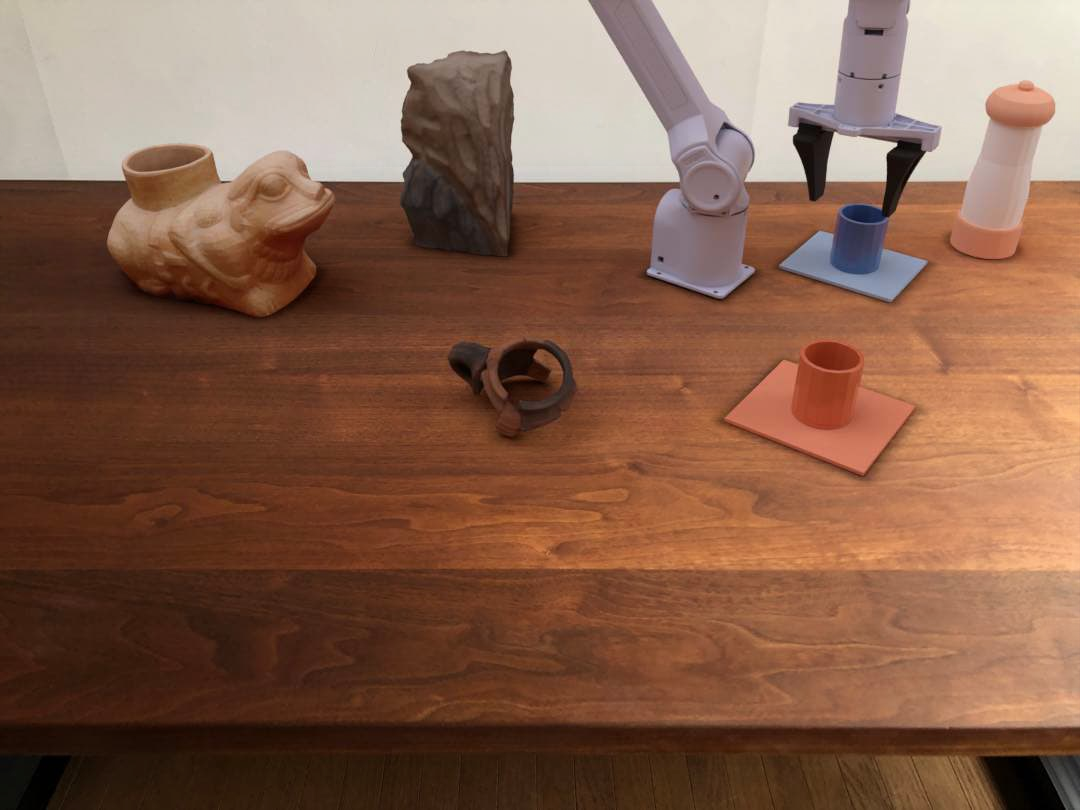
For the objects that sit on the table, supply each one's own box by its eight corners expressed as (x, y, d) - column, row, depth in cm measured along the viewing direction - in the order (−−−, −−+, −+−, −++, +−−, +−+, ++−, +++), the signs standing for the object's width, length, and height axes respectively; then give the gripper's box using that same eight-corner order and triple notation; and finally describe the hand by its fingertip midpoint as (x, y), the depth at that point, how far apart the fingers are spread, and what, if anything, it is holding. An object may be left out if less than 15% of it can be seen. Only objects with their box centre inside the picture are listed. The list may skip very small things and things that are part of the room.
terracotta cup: (780, 415, 94) (789, 359, 91) (806, 388, 98) (816, 332, 94) (837, 437, 91) (849, 379, 88) (861, 408, 95) (874, 352, 92)
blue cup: (826, 269, 117) (835, 219, 113) (833, 248, 121) (842, 200, 117) (876, 278, 115) (886, 227, 112) (881, 256, 119) (892, 207, 116)
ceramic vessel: (306, 332, 106) (286, 193, 97) (88, 290, 113) (51, 157, 104) (368, 271, 117) (354, 140, 108) (165, 236, 124) (138, 111, 115)
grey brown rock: (400, 246, 122) (386, 73, 110) (434, 202, 132) (425, 39, 120) (506, 258, 119) (503, 83, 108) (532, 212, 129) (532, 47, 118)
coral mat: (723, 421, 94) (724, 417, 94) (783, 362, 102) (783, 359, 102) (863, 476, 88) (863, 472, 87) (914, 409, 96) (915, 405, 95)
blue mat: (778, 268, 118) (778, 265, 118) (819, 233, 125) (819, 230, 125) (890, 302, 111) (891, 299, 111) (927, 264, 119) (927, 260, 119)
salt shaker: (1021, 240, 124) (1070, 78, 113) (1007, 265, 119) (1056, 97, 108) (958, 226, 127) (999, 66, 116) (942, 249, 122) (983, 84, 111)
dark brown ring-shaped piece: (578, 383, 100) (594, 342, 92) (549, 471, 95) (564, 435, 88) (458, 342, 100) (465, 297, 92) (424, 427, 96) (428, 388, 88)
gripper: (779, 71, 100) (768, 204, 108) (931, 94, 93) (907, 236, 100) (811, 51, 105) (798, 181, 112) (958, 72, 97) (933, 209, 105)
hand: (851, 205), depth 107 cm, fingers open, 7 cm apart
